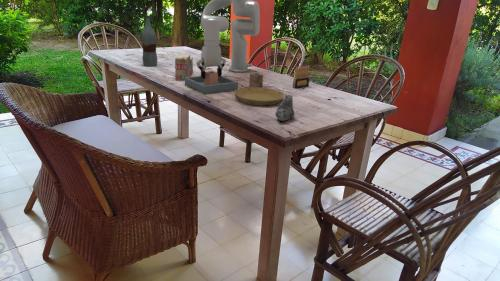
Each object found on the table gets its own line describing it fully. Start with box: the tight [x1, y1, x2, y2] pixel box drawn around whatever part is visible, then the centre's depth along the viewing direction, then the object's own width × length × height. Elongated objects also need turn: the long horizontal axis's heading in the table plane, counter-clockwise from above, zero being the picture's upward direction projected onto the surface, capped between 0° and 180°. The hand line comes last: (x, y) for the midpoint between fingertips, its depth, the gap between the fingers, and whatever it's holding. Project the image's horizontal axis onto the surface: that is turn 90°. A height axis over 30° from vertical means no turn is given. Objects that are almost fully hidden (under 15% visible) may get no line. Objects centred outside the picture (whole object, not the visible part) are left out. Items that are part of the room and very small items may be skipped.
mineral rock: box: [275, 94, 296, 122], centre depth 153 cm, size 13×11×10 cm
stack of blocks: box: [174, 53, 194, 82], centre depth 212 cm, size 21×6×12 cm, turn 179°
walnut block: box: [248, 72, 264, 88], centre depth 198 cm, size 5×5×7 cm
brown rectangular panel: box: [292, 64, 310, 89], centre depth 202 cm, size 11×2×12 cm, turn 127°
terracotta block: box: [204, 70, 218, 86], centre depth 192 cm, size 5×5×7 cm
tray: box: [184, 75, 239, 95], centre depth 193 cm, size 20×20×4 cm
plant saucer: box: [233, 86, 286, 106], centre depth 178 cm, size 24×24×3 cm
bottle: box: [140, 15, 158, 68], centre depth 230 cm, size 9×9×30 cm
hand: (211, 77), depth 192 cm, fingers open, 9 cm apart
